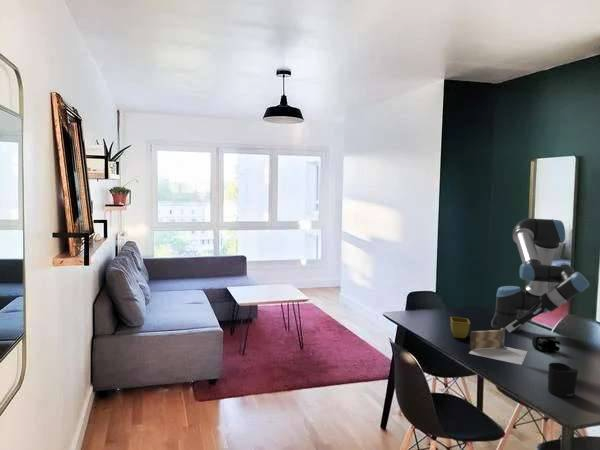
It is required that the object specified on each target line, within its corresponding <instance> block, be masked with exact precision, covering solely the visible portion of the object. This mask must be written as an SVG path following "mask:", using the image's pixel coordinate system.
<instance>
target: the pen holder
mask: <svg viewBox="0 0 600 450" xmlns="http://www.w3.org/2000/svg"><path fill="white" fill-rule="evenodd" d="M578 370H579V369H577V368H572V367H570V366H568V364H566V363H563V362H562V363H561V362H550V363H548V375H547V376H548V379H547V390H548V392H549V393H550V394H551V395H554V396H556V397H559V398H562V399H563V398H565V399H572V398H574V397H575V393H576V386H577V379H578V378H577V377H578V372H579V371H578Z"/></svg>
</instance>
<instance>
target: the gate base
mask: <svg viewBox="0 0 600 450" xmlns="http://www.w3.org/2000/svg"><path fill="white" fill-rule="evenodd" d="M527 353H528V350H523V349H518V348H513V347H508V346H505V345H504V347H498V348H484V349H473V350H472V349H470V351H469V352H468V355H469V354H470V355H475V356H477V357H478V356H479V357H484V358H488V359H493V360H497V361H502V362H507V363H510V364H516V365H523V363H524V360H525V358H526V356H527Z"/></svg>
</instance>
